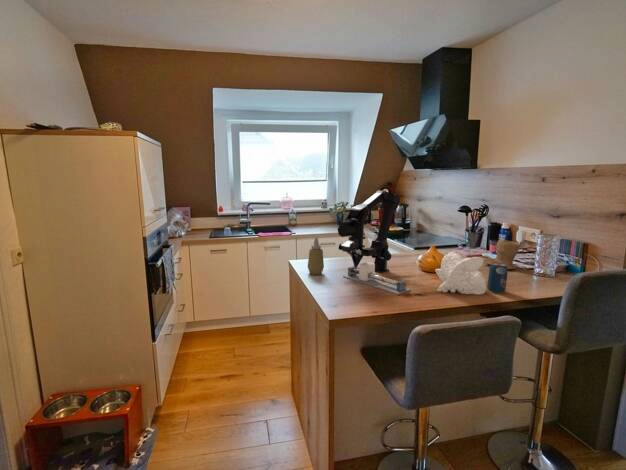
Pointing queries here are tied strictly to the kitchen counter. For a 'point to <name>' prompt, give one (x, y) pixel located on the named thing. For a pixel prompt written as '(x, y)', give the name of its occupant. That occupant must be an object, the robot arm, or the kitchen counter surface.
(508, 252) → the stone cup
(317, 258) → the squeeze bottle
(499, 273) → the soda can
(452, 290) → the white sculpture
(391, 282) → the rail
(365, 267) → the collar
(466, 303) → the kitchen counter surface
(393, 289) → the base board
